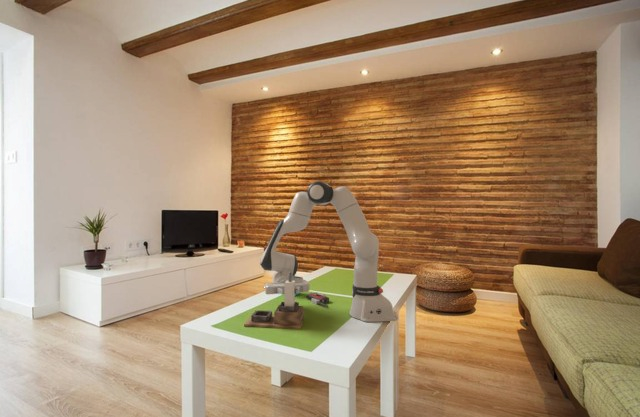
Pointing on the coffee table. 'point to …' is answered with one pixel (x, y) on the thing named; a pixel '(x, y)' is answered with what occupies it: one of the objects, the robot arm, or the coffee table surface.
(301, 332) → the coffee table surface
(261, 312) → the brown wooden stepped base
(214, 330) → the coffee table surface
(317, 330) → the coffee table surface
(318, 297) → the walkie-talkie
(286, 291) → the plug
